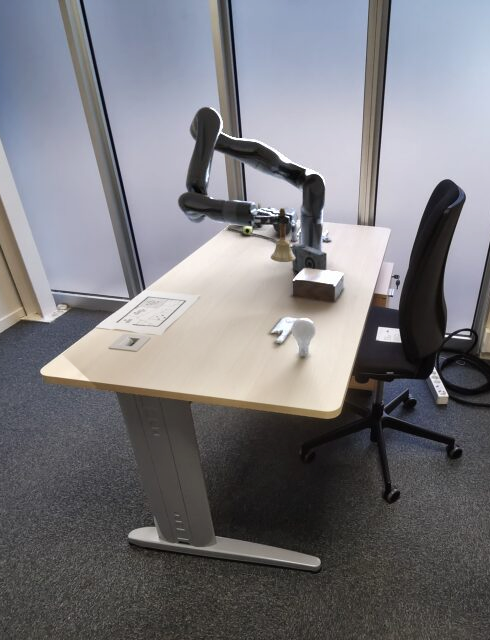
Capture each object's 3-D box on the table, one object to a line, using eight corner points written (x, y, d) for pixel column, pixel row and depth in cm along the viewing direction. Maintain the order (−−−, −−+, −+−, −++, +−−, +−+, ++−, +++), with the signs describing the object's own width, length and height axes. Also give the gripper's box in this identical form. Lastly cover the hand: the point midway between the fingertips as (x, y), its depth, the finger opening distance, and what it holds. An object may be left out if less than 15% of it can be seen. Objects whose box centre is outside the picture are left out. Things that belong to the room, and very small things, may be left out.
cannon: (260, 235, 211) (258, 211, 205) (234, 235, 210) (232, 210, 203) (262, 222, 231) (261, 199, 225) (239, 221, 230) (237, 198, 224)
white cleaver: (264, 341, 127) (264, 337, 126) (282, 319, 139) (282, 316, 138) (281, 343, 126) (281, 339, 125) (297, 321, 138) (297, 318, 137)
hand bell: (299, 256, 151) (299, 207, 142) (288, 263, 145) (287, 212, 136) (277, 252, 153) (275, 204, 144) (266, 259, 146) (263, 209, 138)
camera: (290, 268, 176) (290, 243, 171) (298, 266, 179) (297, 241, 173) (319, 280, 167) (319, 254, 162) (326, 278, 170) (327, 252, 164)
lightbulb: (292, 349, 124) (291, 313, 117) (315, 349, 124) (315, 313, 118) (291, 361, 118) (290, 324, 112) (315, 361, 119) (315, 324, 113)
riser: (292, 296, 154) (292, 279, 151) (303, 283, 165) (303, 266, 161) (334, 302, 152) (335, 285, 148) (343, 288, 162) (343, 272, 159)
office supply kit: (329, 244, 205) (329, 223, 200) (269, 240, 206) (268, 219, 201) (336, 222, 238) (337, 204, 233) (285, 218, 239) (284, 200, 234)
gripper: (249, 220, 151) (297, 225, 149) (231, 230, 140) (283, 237, 137) (247, 196, 147) (297, 202, 145) (229, 205, 136) (283, 211, 133)
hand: (290, 219), depth 141 cm, fingers closed on hand bell, 2 cm apart
